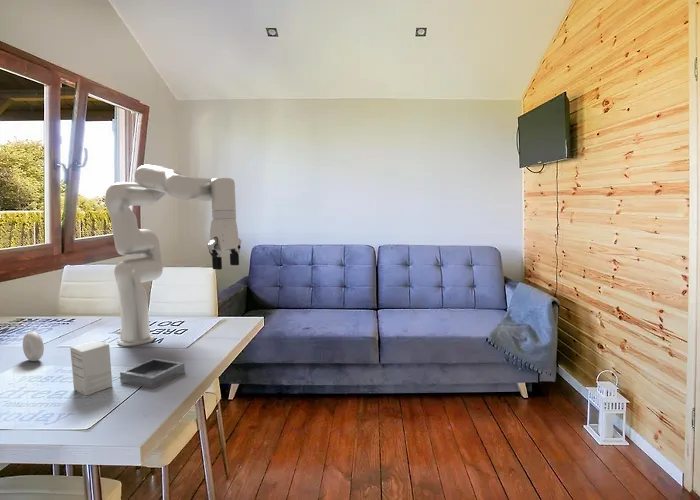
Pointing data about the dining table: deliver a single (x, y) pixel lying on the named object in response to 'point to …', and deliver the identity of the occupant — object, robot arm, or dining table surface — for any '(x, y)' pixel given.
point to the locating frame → (152, 373)
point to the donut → (33, 346)
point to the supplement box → (91, 367)
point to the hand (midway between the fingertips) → (226, 267)
